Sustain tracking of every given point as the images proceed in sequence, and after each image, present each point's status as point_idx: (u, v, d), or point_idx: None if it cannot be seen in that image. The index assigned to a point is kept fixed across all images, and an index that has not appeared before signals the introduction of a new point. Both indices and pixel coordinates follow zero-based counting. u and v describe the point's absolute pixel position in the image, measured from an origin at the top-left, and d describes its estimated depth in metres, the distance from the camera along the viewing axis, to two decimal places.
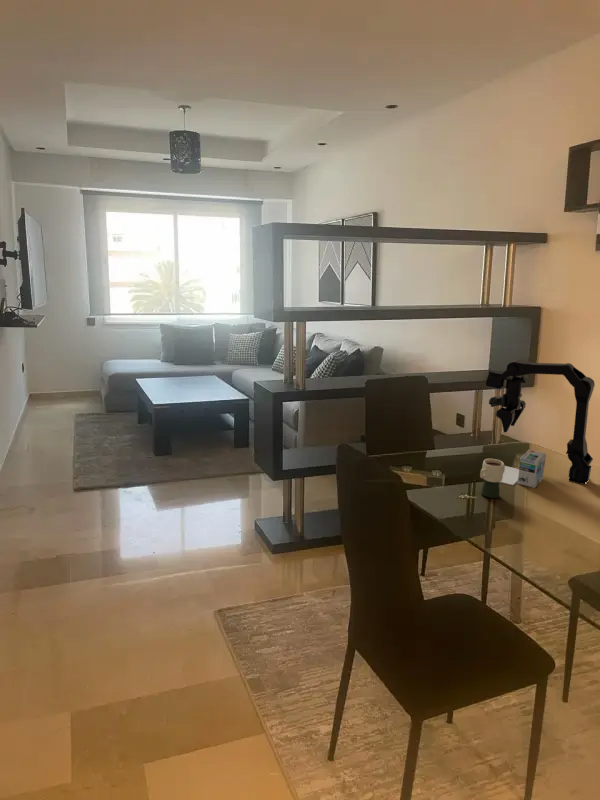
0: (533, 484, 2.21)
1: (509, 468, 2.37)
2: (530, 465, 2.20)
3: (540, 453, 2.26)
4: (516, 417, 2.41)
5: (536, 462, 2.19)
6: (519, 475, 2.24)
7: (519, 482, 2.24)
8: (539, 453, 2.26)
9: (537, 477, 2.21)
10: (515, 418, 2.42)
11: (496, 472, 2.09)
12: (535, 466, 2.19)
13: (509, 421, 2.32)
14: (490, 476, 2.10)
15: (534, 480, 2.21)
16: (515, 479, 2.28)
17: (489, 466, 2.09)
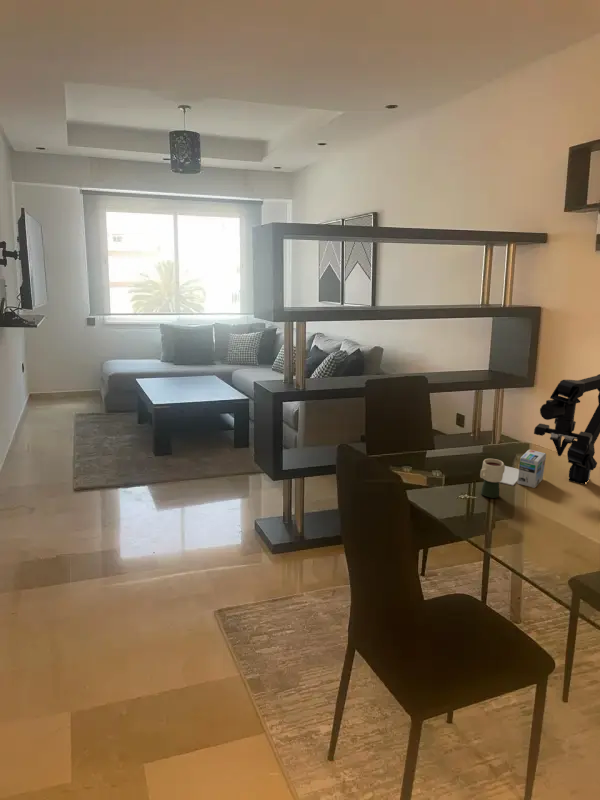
0: (533, 484, 2.21)
1: (509, 468, 2.37)
2: (530, 465, 2.20)
3: (540, 453, 2.26)
4: (561, 447, 2.16)
5: (536, 462, 2.19)
6: (519, 475, 2.24)
7: (519, 482, 2.24)
8: (539, 453, 2.26)
9: (537, 477, 2.21)
10: None
11: (496, 472, 2.09)
12: (535, 466, 2.19)
13: None
14: (490, 477, 2.10)
15: (534, 480, 2.21)
16: (515, 479, 2.28)
17: (489, 466, 2.09)
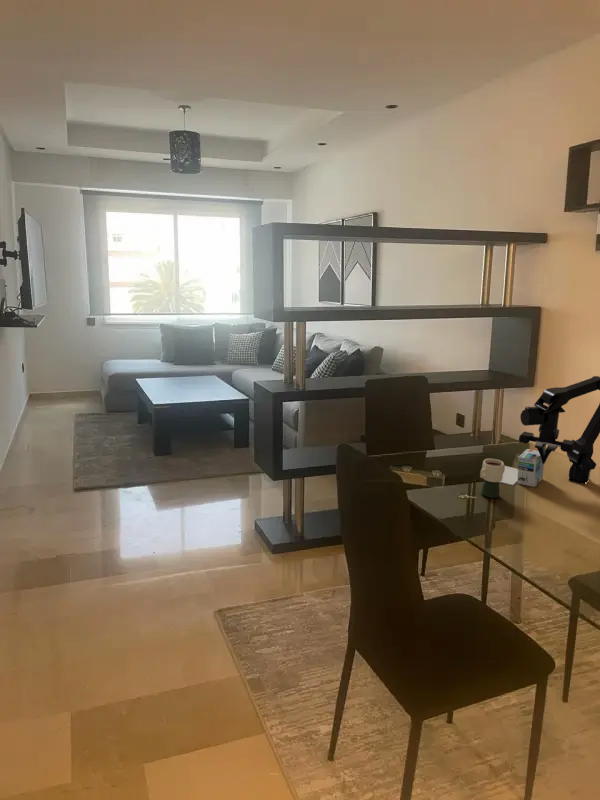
0: (533, 483, 2.21)
1: (509, 468, 2.37)
2: (529, 464, 2.20)
3: (538, 452, 2.26)
4: (544, 454, 2.20)
5: (534, 461, 2.19)
6: (518, 475, 2.24)
7: (519, 482, 2.24)
8: (537, 452, 2.26)
9: (536, 476, 2.21)
10: None
11: (496, 472, 2.09)
12: (534, 465, 2.19)
13: None
14: (490, 476, 2.10)
15: (534, 479, 2.21)
16: (515, 479, 2.28)
17: (489, 466, 2.09)
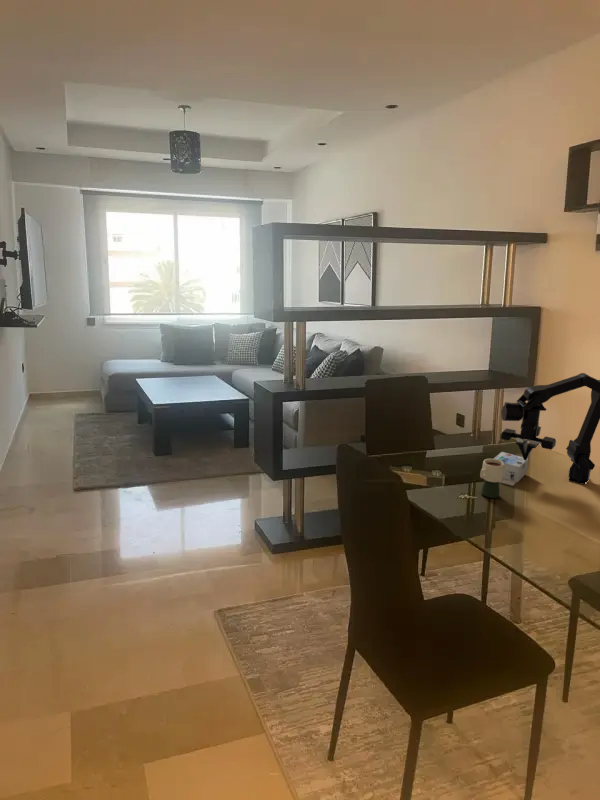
0: (515, 467, 2.24)
1: None
2: None
3: None
4: (526, 451, 2.24)
5: None
6: (508, 478, 2.27)
7: (515, 480, 2.25)
8: None
9: (511, 462, 2.26)
10: None
11: (496, 472, 2.09)
12: None
13: None
14: (490, 476, 2.10)
15: (511, 465, 2.25)
16: None
17: (489, 466, 2.09)
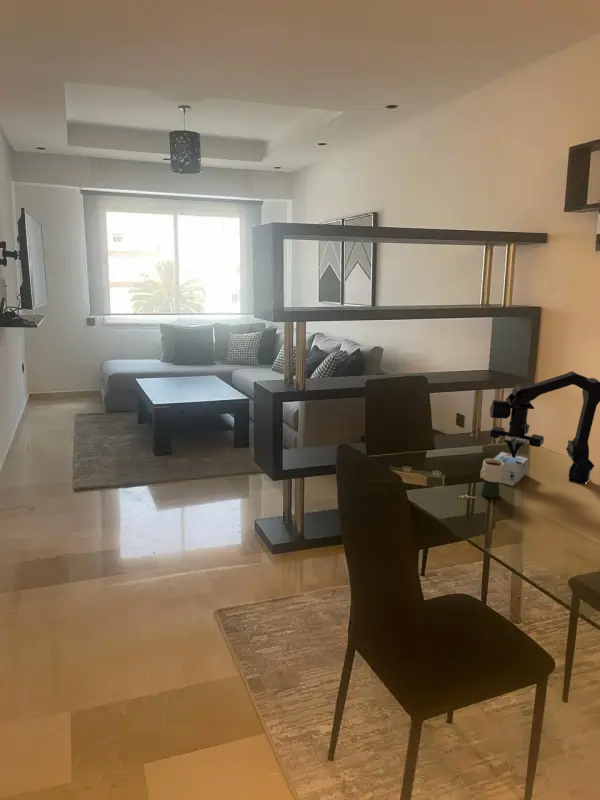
0: (515, 467, 2.24)
1: None
2: None
3: None
4: None
5: None
6: (508, 478, 2.27)
7: (515, 480, 2.25)
8: None
9: (511, 462, 2.26)
10: None
11: (496, 472, 2.09)
12: None
13: None
14: (490, 476, 2.10)
15: (511, 465, 2.25)
16: None
17: (489, 466, 2.09)
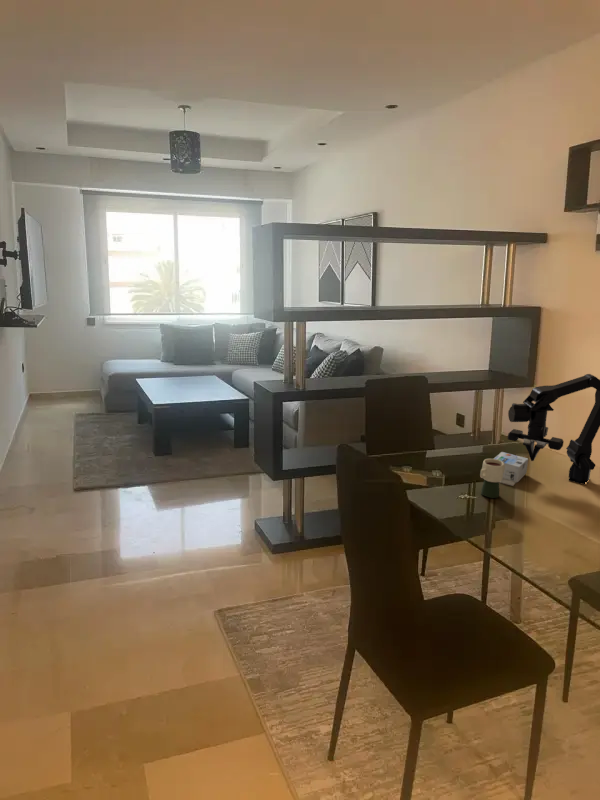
0: (515, 467, 2.24)
1: None
2: None
3: None
4: None
5: None
6: (508, 478, 2.27)
7: (515, 480, 2.25)
8: None
9: (511, 462, 2.26)
10: None
11: (496, 472, 2.09)
12: None
13: None
14: (490, 476, 2.10)
15: (511, 465, 2.25)
16: None
17: (489, 466, 2.09)
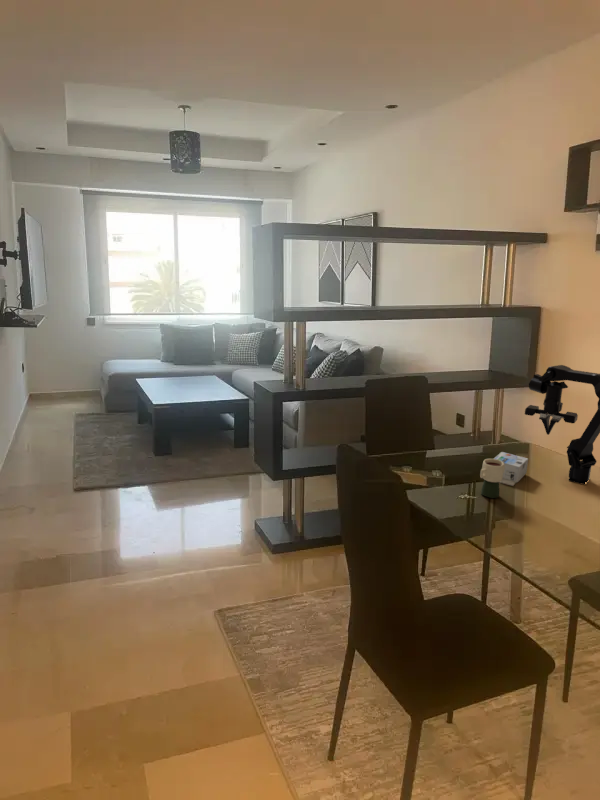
0: (515, 467, 2.24)
1: None
2: None
3: None
4: (549, 426, 2.36)
5: None
6: (508, 478, 2.27)
7: (515, 480, 2.25)
8: None
9: (511, 462, 2.26)
10: None
11: (496, 472, 2.09)
12: None
13: None
14: (490, 476, 2.10)
15: (511, 465, 2.25)
16: None
17: (489, 466, 2.09)
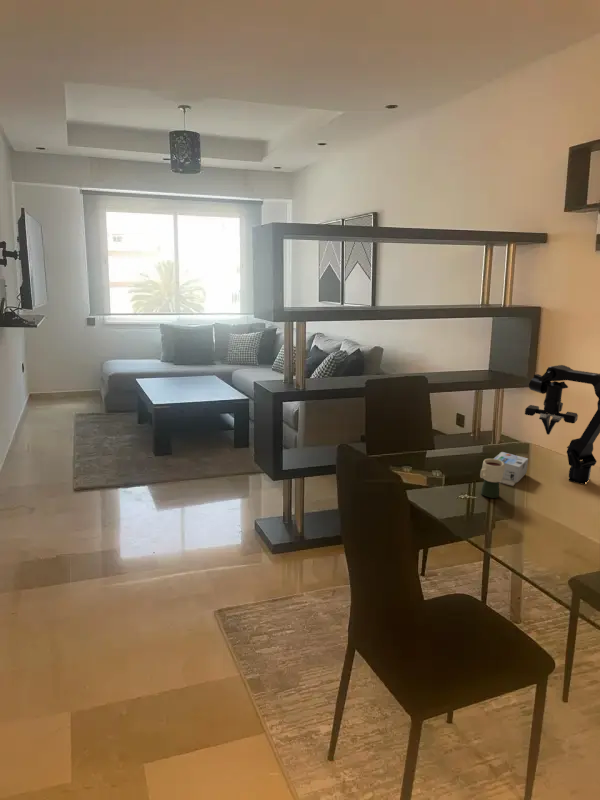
0: (515, 467, 2.24)
1: None
2: None
3: None
4: None
5: None
6: (508, 478, 2.27)
7: (515, 480, 2.25)
8: None
9: (511, 462, 2.26)
10: None
11: (496, 472, 2.09)
12: None
13: None
14: (490, 476, 2.10)
15: (511, 465, 2.25)
16: None
17: (489, 466, 2.09)
